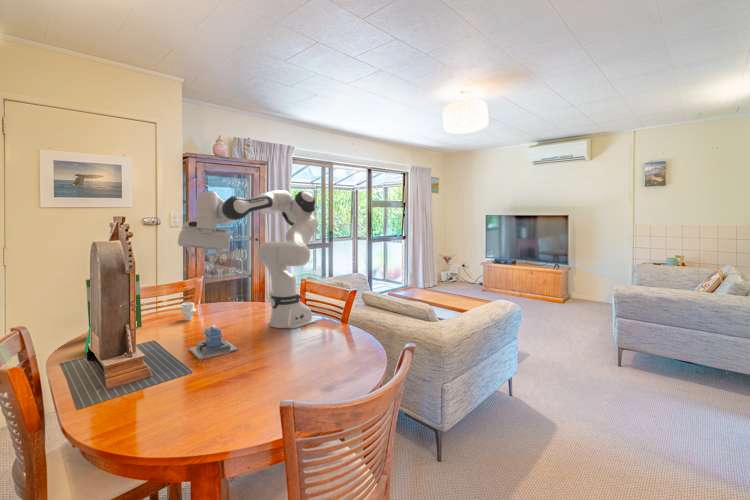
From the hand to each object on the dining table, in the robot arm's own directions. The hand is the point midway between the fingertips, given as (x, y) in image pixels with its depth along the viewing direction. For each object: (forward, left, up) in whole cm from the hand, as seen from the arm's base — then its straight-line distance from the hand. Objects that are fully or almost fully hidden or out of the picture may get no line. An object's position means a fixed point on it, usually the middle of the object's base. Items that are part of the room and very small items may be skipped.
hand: (203, 258), depth 158 cm
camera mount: (+35, -5, -33) cm, 49 cm away
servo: (+4, +22, -32) cm, 39 cm away
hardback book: (+29, -27, -33) cm, 51 cm away
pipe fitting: (0, -27, -33) cm, 43 cm away
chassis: (+4, +22, -33) cm, 40 cm away
